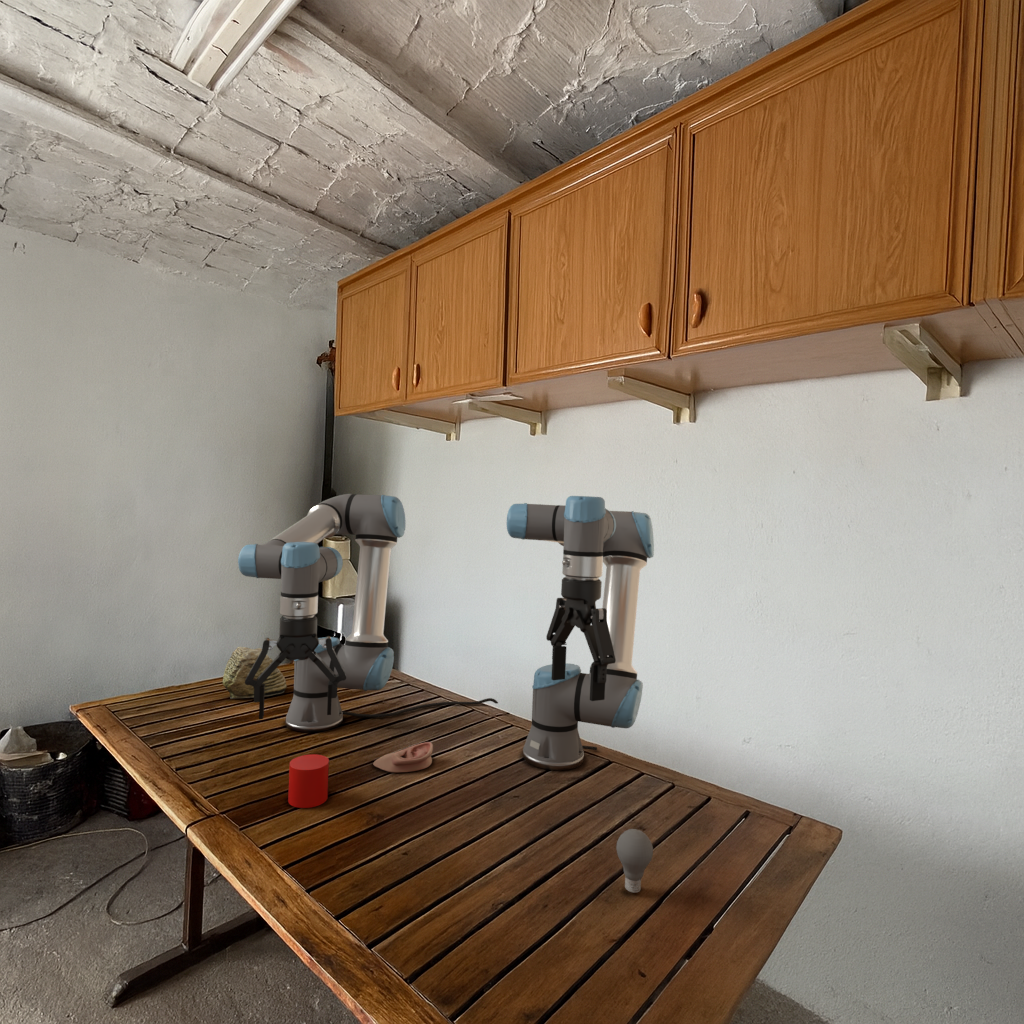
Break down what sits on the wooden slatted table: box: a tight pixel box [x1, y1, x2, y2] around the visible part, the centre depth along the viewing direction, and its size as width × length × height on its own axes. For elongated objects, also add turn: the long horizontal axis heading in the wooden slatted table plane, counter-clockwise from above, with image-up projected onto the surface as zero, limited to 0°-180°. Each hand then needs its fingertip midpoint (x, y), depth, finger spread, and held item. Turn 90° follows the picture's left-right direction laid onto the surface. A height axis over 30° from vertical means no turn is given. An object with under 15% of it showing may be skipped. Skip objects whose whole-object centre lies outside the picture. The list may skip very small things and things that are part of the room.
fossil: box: [222, 646, 288, 699], centre depth 198 cm, size 9×18×15 cm, turn 132°
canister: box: [287, 753, 330, 809], centre depth 133 cm, size 8×8×8 cm
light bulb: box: [615, 828, 654, 894], centre depth 106 cm, size 6×6×10 cm
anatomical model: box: [372, 741, 434, 773], centre depth 152 cm, size 13×4×12 cm
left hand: (295, 715), depth 134 cm, fingers open, 13 cm apart
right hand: (576, 689), depth 120 cm, fingers open, 13 cm apart
